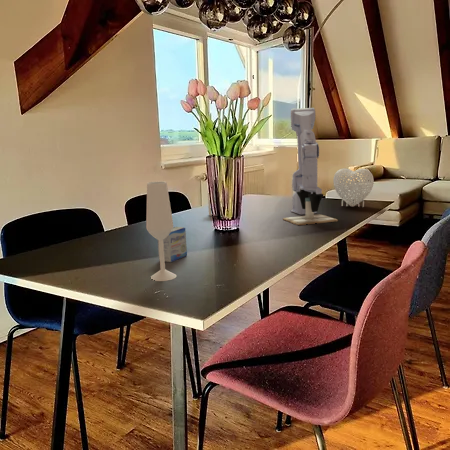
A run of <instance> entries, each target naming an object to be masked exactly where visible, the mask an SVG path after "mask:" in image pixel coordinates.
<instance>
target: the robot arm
mask: <svg viewBox="0 0 450 450" xmlns="http://www.w3.org/2000/svg"><path fill="white" fill-rule="evenodd" d="M315 121H316V109H315V107H306V108H303V107H302V108H291V109H290V127H291V130H292V131H294V132H295V133H296V137H297V138H296V141H297V161H298V169H297V170H295V171H294V172H293V173H292V181H291V183H292V187H291V188H292V191H293V192H294V193H293V194H292V210H290V212H292V213H295V214H297V215H301V216H303V215H306V201H305V198H310V202H311V210H312V212H314V214H318V211H319V207H320V203H321V201H322V199H323V197H324V193H323V189H322V187H321V188H320V187H319V186H318V159H319V158H320V146H319V142H317V139H316V136H315V132H314V131H313V129H314V126H315Z"/></svg>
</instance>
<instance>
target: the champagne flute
mask: <svg viewBox="0 0 450 450" xmlns="http://www.w3.org/2000/svg"><path fill="white" fill-rule="evenodd" d="M172 214H173V213H172V209H171V202H170V195H169V190H168V182H167V181H150V182H146V215H145V216H146V217H145V218H146V221H145V222H146V224H145V225H146V227H145V228H146V230H147V232H148V234H149V235H151V236H152V237H153V238H155V240H156V241H158V240H159V252H158V255H159V254H160V260H159V264H160V265H159V267H160V269H159V270H158V271H157V272H155V273H154V274H152V275H151V276H150V277H151V279H153V280H152V281H154V280H155V281H154V282H167V281H171V280H174V279H176V278H177V274H176V273H173V272H171V271H170V270H168V269H166V263H165V259H164V244H163V239H165V238H166V237H167V236H168V235H169V234H170V233H171V231H172V229H173V227H174V220H173V216H172ZM151 279H150V280H151Z"/></svg>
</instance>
